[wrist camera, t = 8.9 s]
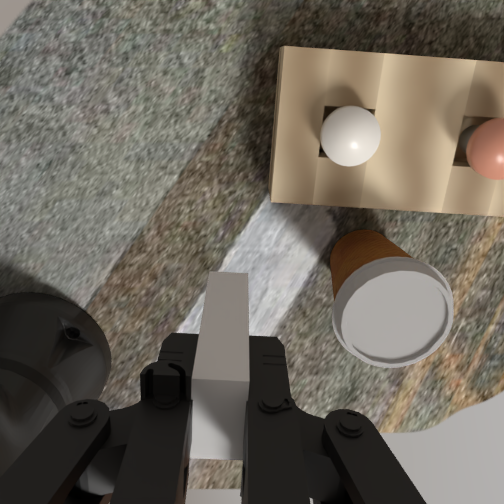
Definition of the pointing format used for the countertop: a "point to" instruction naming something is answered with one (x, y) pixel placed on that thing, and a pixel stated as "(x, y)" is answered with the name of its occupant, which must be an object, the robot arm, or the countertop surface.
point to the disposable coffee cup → (387, 301)
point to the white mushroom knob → (350, 135)
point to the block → (385, 130)
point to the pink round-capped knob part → (485, 148)
